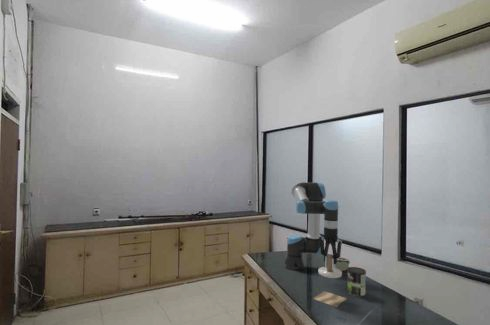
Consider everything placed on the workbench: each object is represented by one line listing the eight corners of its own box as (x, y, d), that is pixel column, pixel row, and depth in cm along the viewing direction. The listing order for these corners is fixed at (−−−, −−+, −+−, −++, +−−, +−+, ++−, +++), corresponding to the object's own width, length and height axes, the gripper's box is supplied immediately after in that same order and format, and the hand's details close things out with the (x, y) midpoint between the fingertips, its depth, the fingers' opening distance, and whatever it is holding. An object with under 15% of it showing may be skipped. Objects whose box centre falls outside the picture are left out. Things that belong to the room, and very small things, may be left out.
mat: (312, 299, 160) (312, 298, 160) (324, 292, 170) (324, 291, 170) (336, 308, 150) (336, 306, 150) (346, 299, 161) (346, 298, 161)
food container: (347, 271, 206) (347, 257, 207) (349, 274, 200) (349, 260, 200) (330, 270, 208) (330, 256, 208) (331, 273, 201) (332, 259, 202)
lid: (314, 273, 161) (314, 255, 161) (324, 267, 170) (325, 250, 170) (335, 280, 152) (336, 260, 152) (345, 273, 162) (346, 255, 162)
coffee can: (352, 297, 164) (352, 273, 164) (344, 290, 174) (344, 266, 174) (369, 297, 164) (369, 272, 165) (360, 289, 175) (360, 266, 175)
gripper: (314, 226, 164) (313, 266, 164) (342, 230, 153) (341, 274, 153) (320, 224, 170) (319, 263, 169) (347, 228, 159) (346, 270, 158)
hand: (330, 268), depth 161 cm, fingers closed on lid, 3 cm apart
